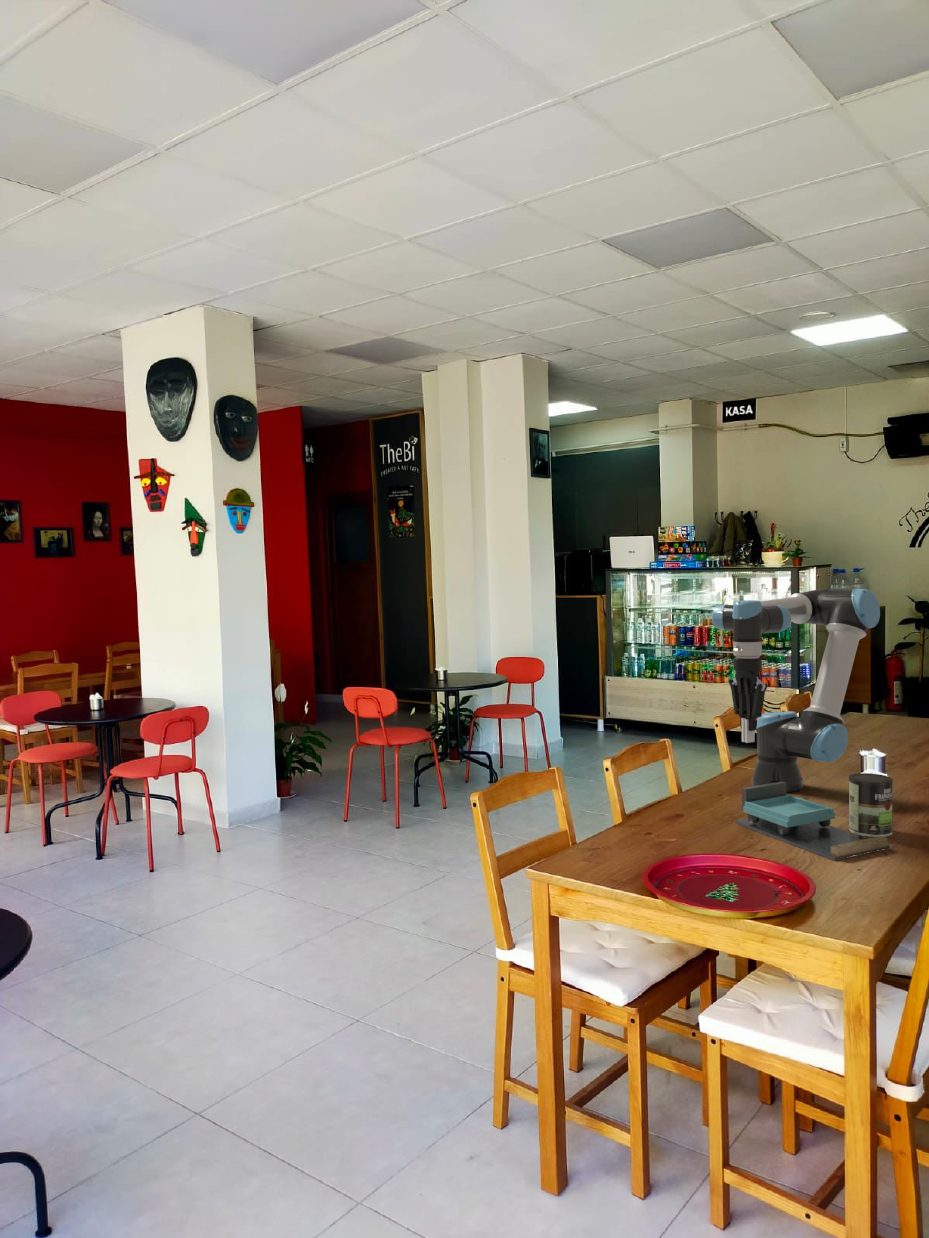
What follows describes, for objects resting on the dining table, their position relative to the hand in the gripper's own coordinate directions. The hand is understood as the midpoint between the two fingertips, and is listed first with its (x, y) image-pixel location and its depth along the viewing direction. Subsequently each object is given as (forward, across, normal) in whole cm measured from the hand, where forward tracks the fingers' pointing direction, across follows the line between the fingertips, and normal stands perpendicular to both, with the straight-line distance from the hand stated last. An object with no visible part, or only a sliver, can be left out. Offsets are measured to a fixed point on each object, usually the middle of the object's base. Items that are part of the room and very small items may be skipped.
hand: (748, 741), depth 245 cm
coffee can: (+21, +27, +16) cm, 38 cm away
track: (+20, +22, 0) cm, 30 cm away
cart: (+19, +14, 0) cm, 24 cm away
